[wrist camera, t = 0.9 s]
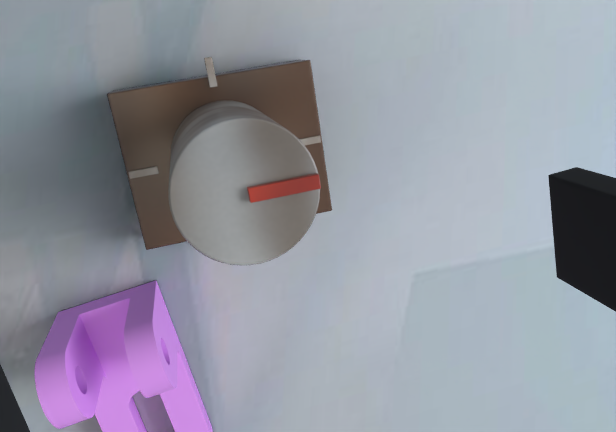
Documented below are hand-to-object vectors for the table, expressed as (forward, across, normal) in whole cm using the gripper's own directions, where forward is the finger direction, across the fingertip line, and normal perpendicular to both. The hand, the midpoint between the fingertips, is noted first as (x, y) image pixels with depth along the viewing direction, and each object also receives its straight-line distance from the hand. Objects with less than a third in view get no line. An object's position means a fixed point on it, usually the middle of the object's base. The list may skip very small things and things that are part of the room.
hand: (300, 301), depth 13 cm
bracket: (+20, -8, -12) cm, 25 cm away
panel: (+20, 0, 0) cm, 20 cm away
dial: (+17, 0, +1) cm, 17 cm away
